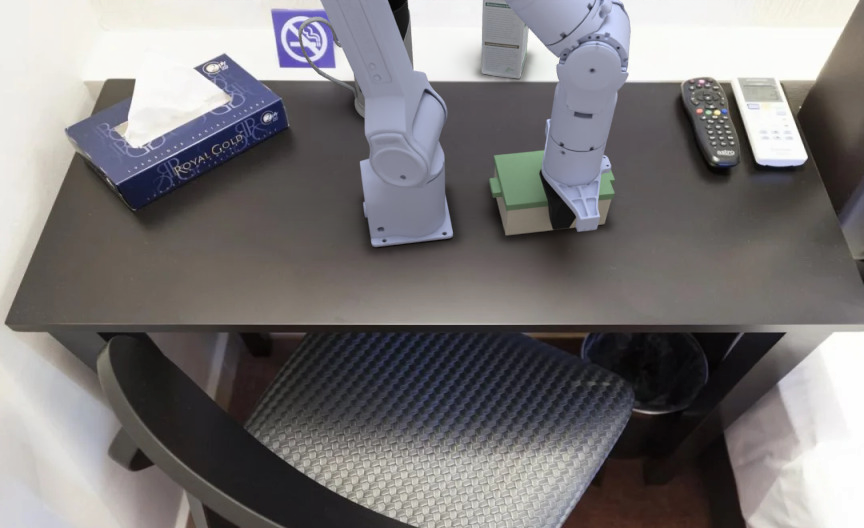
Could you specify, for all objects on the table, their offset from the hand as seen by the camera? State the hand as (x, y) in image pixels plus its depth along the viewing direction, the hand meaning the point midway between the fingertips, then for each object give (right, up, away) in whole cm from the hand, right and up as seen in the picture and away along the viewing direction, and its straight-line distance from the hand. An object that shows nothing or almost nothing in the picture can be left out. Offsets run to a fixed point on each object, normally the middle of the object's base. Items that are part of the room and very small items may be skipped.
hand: (560, 225), depth 76 cm
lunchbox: (-1, +4, +3) cm, 5 cm away
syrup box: (-5, +26, +20) cm, 33 cm away
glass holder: (-24, +18, +15) cm, 34 cm away
